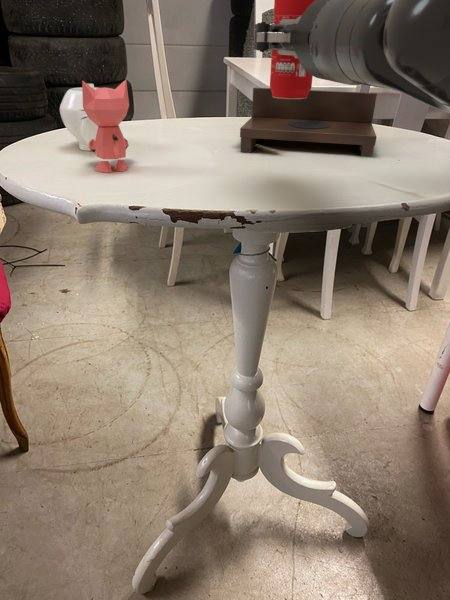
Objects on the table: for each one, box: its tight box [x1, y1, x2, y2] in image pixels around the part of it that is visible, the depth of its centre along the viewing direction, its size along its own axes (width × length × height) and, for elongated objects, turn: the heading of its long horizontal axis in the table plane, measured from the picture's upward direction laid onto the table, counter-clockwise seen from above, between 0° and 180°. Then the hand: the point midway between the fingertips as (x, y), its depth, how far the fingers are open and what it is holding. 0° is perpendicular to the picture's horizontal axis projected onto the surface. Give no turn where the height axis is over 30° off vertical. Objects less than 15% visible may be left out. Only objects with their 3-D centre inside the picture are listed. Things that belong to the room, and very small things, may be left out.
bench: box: [239, 87, 378, 158], centre depth 81 cm, size 22×13×9 cm, turn 78°
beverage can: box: [269, 0, 316, 99], centre depth 56 cm, size 5×5×12 cm
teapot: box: [59, 83, 99, 152], centre depth 78 cm, size 10×20×9 cm, turn 13°
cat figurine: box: [80, 79, 130, 173], centre depth 66 cm, size 7×7×12 cm
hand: (287, 37), depth 58 cm, fingers closed on beverage can, 5 cm apart
